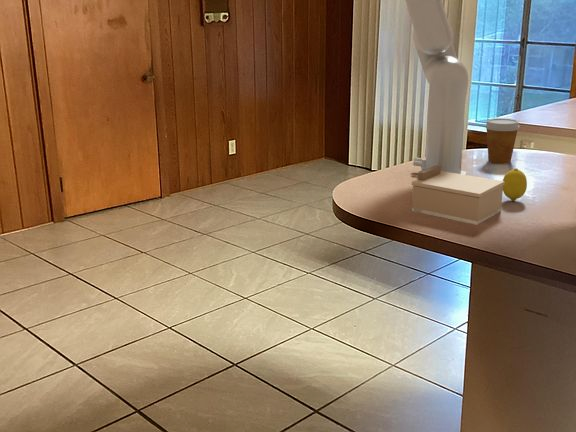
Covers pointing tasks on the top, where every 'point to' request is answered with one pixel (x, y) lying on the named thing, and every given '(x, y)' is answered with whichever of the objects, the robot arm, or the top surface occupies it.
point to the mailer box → (457, 204)
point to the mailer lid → (456, 182)
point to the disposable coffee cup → (501, 139)
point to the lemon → (514, 184)
